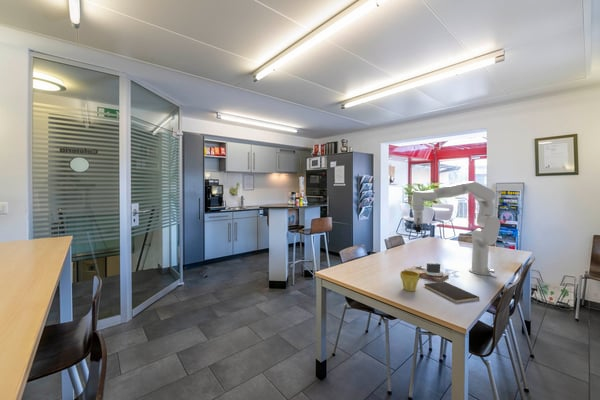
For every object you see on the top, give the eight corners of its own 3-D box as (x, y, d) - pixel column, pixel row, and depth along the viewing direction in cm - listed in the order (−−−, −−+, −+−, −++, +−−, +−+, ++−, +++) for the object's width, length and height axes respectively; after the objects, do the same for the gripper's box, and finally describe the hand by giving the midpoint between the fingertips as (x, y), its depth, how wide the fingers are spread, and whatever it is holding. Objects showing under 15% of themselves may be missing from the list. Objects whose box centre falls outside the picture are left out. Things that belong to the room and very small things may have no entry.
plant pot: (397, 285, 156) (397, 270, 156) (414, 285, 156) (414, 270, 156) (403, 292, 146) (404, 275, 145) (422, 292, 146) (422, 276, 145)
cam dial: (437, 271, 178) (437, 261, 177) (446, 277, 166) (447, 266, 165) (416, 270, 178) (416, 260, 178) (423, 276, 166) (424, 266, 166)
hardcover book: (455, 304, 133) (455, 299, 133) (423, 287, 155) (423, 283, 155) (479, 300, 137) (479, 296, 137) (445, 285, 159) (445, 281, 159)
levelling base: (448, 277, 171) (448, 272, 171) (439, 282, 162) (439, 276, 162) (414, 268, 190) (414, 263, 190) (404, 272, 181) (404, 267, 181)
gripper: (425, 209, 176) (424, 233, 177) (422, 207, 193) (421, 229, 193) (413, 208, 178) (413, 232, 179) (411, 207, 195) (410, 229, 196)
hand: (417, 231), depth 186 cm, fingers open, 9 cm apart
